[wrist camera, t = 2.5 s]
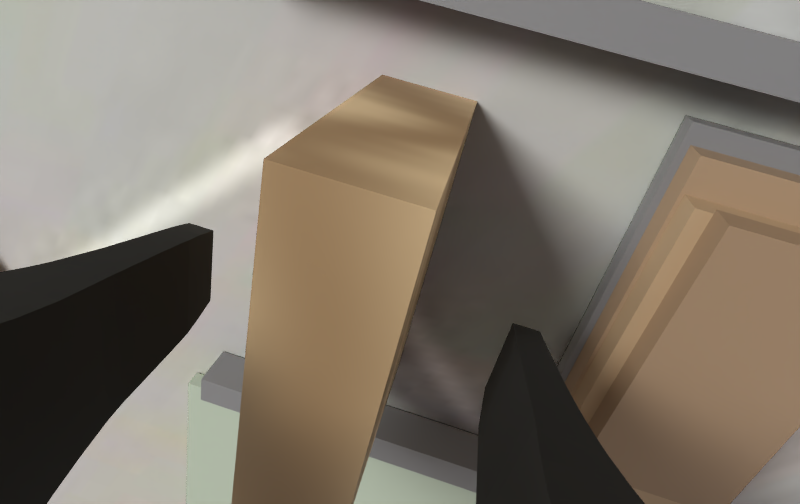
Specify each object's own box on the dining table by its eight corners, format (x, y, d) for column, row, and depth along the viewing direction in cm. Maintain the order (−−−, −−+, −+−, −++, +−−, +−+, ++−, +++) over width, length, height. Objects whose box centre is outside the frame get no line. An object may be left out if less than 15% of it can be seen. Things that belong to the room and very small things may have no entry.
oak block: (477, 100, 13) (436, 210, 7) (399, 362, 18) (333, 565, 12) (383, 74, 13) (263, 158, 7) (329, 339, 18) (229, 528, 12)
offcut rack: (973, 87, 11) (1114, 123, 8) (643, 511, 18) (663, 600, 16) (253, -101, 12) (178, -122, 9) (222, 371, 19) (175, 432, 17)
